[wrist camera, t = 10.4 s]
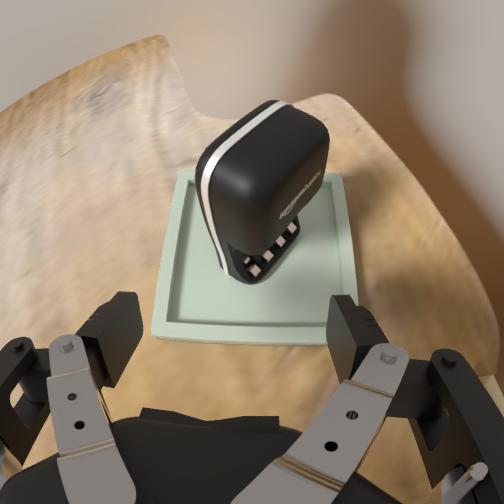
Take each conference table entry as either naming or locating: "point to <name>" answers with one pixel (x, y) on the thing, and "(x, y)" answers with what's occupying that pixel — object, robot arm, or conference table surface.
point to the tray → (263, 293)
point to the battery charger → (260, 186)
